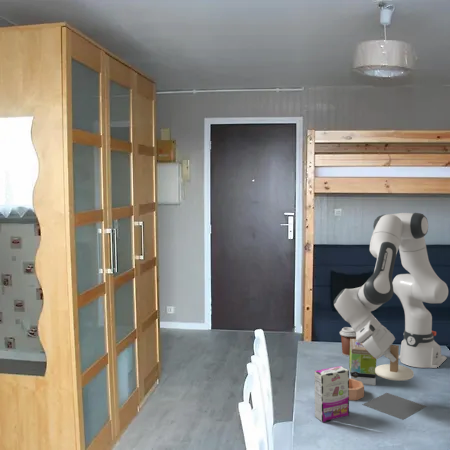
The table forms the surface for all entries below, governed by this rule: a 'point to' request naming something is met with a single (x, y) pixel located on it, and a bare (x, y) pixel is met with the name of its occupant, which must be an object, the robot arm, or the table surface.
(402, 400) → the mat
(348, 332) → the coffee cup
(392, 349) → the lid
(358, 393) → the bowl
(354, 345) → the tea box
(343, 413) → the candy bar box
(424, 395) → the table surface
